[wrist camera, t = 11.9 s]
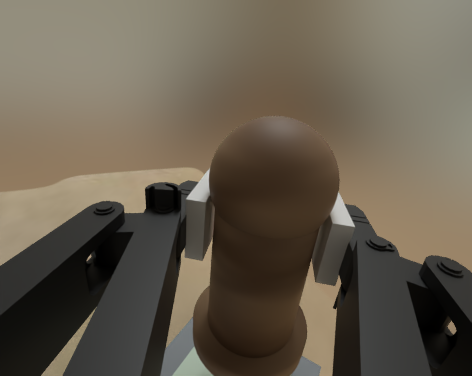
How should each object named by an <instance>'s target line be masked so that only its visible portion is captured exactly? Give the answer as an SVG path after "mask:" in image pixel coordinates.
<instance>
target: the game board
mask: <svg viewBox="0 0 472 376" xmlns="http://www.w3.org/2000/svg"><path fill="white" fill-rule="evenodd" d="M320 369H321V366H319V365H317V364H315V363H314V362H312V361H310V360H308V359H307V358H305V357H303V356H301V359H300V362H299V364H298V366H297V368H296V369H295V371H294V372H293V373H292V374H291V375H290V376H319V373H320ZM160 376H214V375H213V374H211V373H210V372H209V371H208V369H207V368H206V367H205V366H204V365H203V363H202V362H201V360H200V358H199V356H198V355H197V352H196V349H195V347H194V342H193V317H192V319H191V320H190V321H189V322H188V323H187V324H186V326H185V327H184V328H183V329H182V330H181V331H180V333H179V334H178V335H177V336H176V337H175V338H174V340H173V341H172V342H171V343H170V344H169V345H168V347H167V348H166V349H165V353H164V359H163V364H162V370H161V375H160Z"/></svg>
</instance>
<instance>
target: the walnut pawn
mask: <svg viewBox="0 0 472 376" xmlns="http://www.w3.org/2000/svg"><path fill="white" fill-rule="evenodd" d="M209 190H210V195H211V199H212V202H213V205H214V207H215V214H214V229H213V244H212V259H211V274H210V286H208V287H207V288H206V289H205V290H204V291H203V293H202V294H201V295H200V297H199V299H198V300H197V303H196V305H195V309H194V314H193V342H194V347H195V349H196V352H197V355H198V356H199V358H200V360H201V362H202V363H203V365H204V366H205V367H206V368H207V369H208V371H209V372H210V373H211V374H213V375H214V376H290V375H291V374H292V373H293V372H294V371H295V369H296V368H297V366H298V364H299V362H300V359H301V356H302V353H303V350H304V346H305V343H306V339H307V324H306V320H305V316H304V314H303V311H302V309H301V307H300V306H299V303H300V299H301V296H302V292H303V288H304V285H305V281H306V277H307V273H308V269H309V266H310V262H311V258H312V255H313V251H314V247H315V243H316V240H317V236H318V232H319V229H320V226H321V225H322V224H323V223H324V222H325V220H326V219H327V218H328V216H329V215H330V213H331V211H332V209H333V208H334V205H335V202H336V200H337V196H338V191H339V170H338V165H337V161H336V159H335V156H334V154H333V151H332V150H331V148H330V146H329V145H328V143H327V142H326V141H325V140H324V138H323V137H322V136H321V135H320V134H319V133H318V132H317V131H316V130H314V129H313V128H311V127H310V126H308V125H307V124H305V123H303V122H301V121H298V120H296V119H292V118H288V117H282V116H266V117H261V118H256V119H253V120H251V121H248V122H246V123H244V124H242V125H240V126H239V127H237V128H236V129H235V130H233V131H232V132H231V133H230V134H229V135H228V136H227V137H226V138H225V139H224V140H223V141H222V143H221V144H220V145H219V147H218V149H217V151H216V153H215V155H214V157H213V160H212V163H211V166H210V172H209Z"/></svg>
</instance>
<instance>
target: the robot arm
mask: <svg viewBox="0 0 472 376" xmlns="http://www.w3.org/2000/svg"><path fill="white" fill-rule="evenodd" d="M209 172H210V169H209V170H208V171H207V172H206V174H205V175H204V176H203V177H202V179H201V180H200V181H199V182H195V181H186V182H184V183H181V184H180V185H179V186H178V185H176V184H174V183H168V182H160V183H154V184H151V185H149V186H147V187H146V188H145V196H146V209H145V211H144V213H124V206H123V205H122V204H121V203H118V202H111V201H106V202H105V201H102V202H99V203H96V204H93V205H91V206H89V207H87V208H86V209H84V210H83V211H81V212H80V213H78V214H77V215H75V216H74V217H72V218H71V219H69V220H68V221H66V222H65V223H63V224H62V225H61V226H59V227H58V228H56V229H55V230H53V231H52V232H50V233H49V234H47V235H46V236H44V237H43V238H41V239H40V240H38V241H37V242H35V243H34V244H32V245H31V246H29V247H28V248H26V249H25V250H23V251H22V252H20V253H19V254H17V255H16V256H14V257H13V258H12V259H10V260H9V261H7V262H6V263H4V264H3V265H1V266H0V376H41V375H42V373H43V372H44V371H45V370H46V368H47V367H48V366H49V365H50V364H51V362H52V361H53V360H54V359H55V357H56V356H57V355H58V354H59V352H60V351H61V350H62V349H63V347H64V346H65V345H66V344H67V343H68V341H69V340H70V339H71V338H72V336H73V335H74V334H75V333H76V331H77V330H78V329H79V328H80V326H81V325H82V324H83V323H84V322H85V320H86V319H87V318H88V317H89V315H90V314H91V313H92V312H93V310H94V309H95V308H96V307H97V308H96V310H95V312H94V314H93V316H92V318H91V320H90V322H89V324H88V326H87V328H86V330H85V332H84V334H83V336H82V338H81V340H80V342H79V344H78V346H77V348H76V350H75V352H74V354H73V356H72V358H71V360H70V362H69V364H68V366H67V368H66V370H65V372H64V374H63V376H160V375H161V370H162V364H163V359H164V353H165V348H166V342H167V337H168V331H169V325H170V320H171V314H172V309H173V303H174V298H175V292H176V287H177V281H178V276H179V270H180V265H181V253H182V251H183V249H184V248H185V258H190V259H196V260H201V261H203V258H204V256H205V254H206V251H207V249H208V247H209V244H210V242H211V240H212V237H213V229H214V214H215V207H214V205H213V202H212V199H211V195H210V190H209ZM90 254H91V256H92V257H91V258H90V259H89V260H88V261H87V258H88V257H89V256H90ZM86 261H87V262H86ZM312 264H313V270H314V277H315V282H317V283H322V284H327V285H333V286H335V285H336V282H337V279H338V275H339V276H340V279H341V283H342V284H341V287H340V289H339V292H338V295H337V298H336V301H335V304H334V306H333V308H334V309H336V308H337V316H336V331H335V346H334V361H333V375H332V376H472V273H471V272H470V271H469V270H468V269H467V268H465V267H464V266H462V265H460V264H459V263H458V262H456V261H454V260H451V259H449V258H446V257H440V256H432V255H431V256H428V257H426V259H425V261H424V263H423V265H422V264H419V263H416V262H413V261H410V260H407V259H405V258H402V257H400V256H399V253H398V250H397V248H396V247H395V246H394V245H393V244H392V243H391V242H389V241H387V240H386V239H384V238H381V237H379V236H377V235H376V233H375V231H374V229H373V228H372V226H371V224H369V221H368V219H367V218H366V216H365V214H364V213H363V211H361V210H360V209H359V208H358V207H356V206H354V205H347V204H344V203H343V200H342V198H341V196H340V194H339V192H338V196H337V200H336V202H335V205H334V208H333V209H332V211H331V213H330V215H329V216H328V218H327V219H326V220H325V222H324V223H323V224H322V225H321V226H320V229H319V232H318V236H317V240H316V243H315V247H314V251H313V255H312ZM451 320H452V322H453V323H454V325H455V327H456V330H457V331H456V333H455V334H454V335H453V334H452V333H451V332H450V330H449V329H448V327H447V326H448V325H449V323H450V322H451Z"/></svg>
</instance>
